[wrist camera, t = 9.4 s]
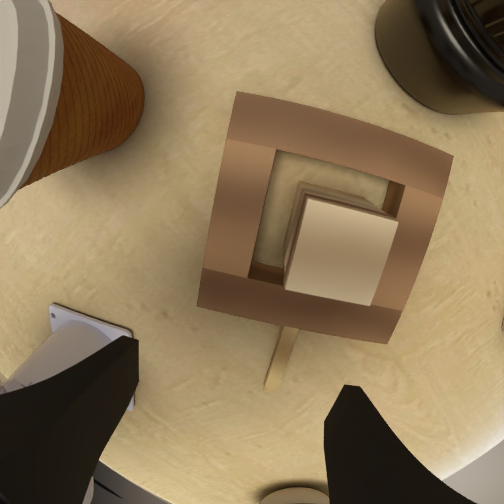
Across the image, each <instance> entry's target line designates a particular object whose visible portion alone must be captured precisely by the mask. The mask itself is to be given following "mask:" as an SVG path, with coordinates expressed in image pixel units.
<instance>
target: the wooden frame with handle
mask: <svg viewBox="0 0 504 504" xmlns="http://www.w3.org/2000/svg"><path fill="white" fill-rule="evenodd" d="M276 149H278V150H282V151H286V152H291V153H295V154H299V155H303V156H307V157H311V158H315V159H319V160H323V161H327V162H330V163H334V164H338V165H341V166H345V167H348V168H352V169H355V170H359V171H362V172H365V173H369V174H372V175H375V176H378V177H382V178H385V179H388V180H390V183H389V187H388V190H387V194H386V198H385V201H384V205H383V208H382V211H384V212H385V213H387V214H390V215H392V216H393V217H395V218H396V219H397V220H396V221H398V222H399V223H398V226H397V229H396V233H395V236H394V239H393V242H392V245H391V248H390V251H389V254H388V257H387V260H386V263H385V266H384V269H383V272H382V275H381V278H380V280H379V283H378V286H377V289H376V291H375V294H374V297H373V299H372V302H371V305H370V306H367V305H361V304H356V303H351V302H346V301H340V300H335V299H330V298H325V297H320V296H315V295H310V294H305V293H300V292H295V291H290V290H285V286H283V278H284V269H282V268H277V267H273V266H268V265H264V264H259V263H255V262H251V260H252V255H253V251H254V246H255V242H256V238H257V233H258V229H259V224H260V220H261V215H262V211H263V206H264V202H265V197H266V193H267V189H268V184H269V180H270V175H271V171H272V166H273V162H274V157H275V153H276ZM453 157H454V156H453V155H450V154H448V153H446V152H444V151H441V150H439V149H436V148H434V147H432V146H429V145H427V144H424V143H422V142H419V141H417V140H414V139H412V138H409V137H406V136H404V135H401V134H398V133H395V132H393V131H390V130H387V129H384V128H381V127H378V126H375V125H372V124H369V123H366V122H363V121H360V120H356V119H353V118H350V117H346V116H343V115H340V114H336V113H332V112H329V111H325V110H321V109H318V108H314V107H310V106H306V105H302V104H297V103H293V102H289V101H284V100H280V99H275V98H270V97H265V96H260V95H255V94H249V93H244V92H238V91H237V92H236V96H235V101H234V105H233V110H232V114H231V119H230V124H229V129H228V133H227V138H226V143H225V148H224V153H223V158H222V163H221V168H220V173H219V178H218V183H217V189H216V194H215V199H214V205H213V210H212V216H211V221H210V227H209V233H208V239H207V245H206V251H205V257H204V263H203V269H202V275H201V282H200V288H199V295H198V301H197V307H201V308H205V309H210V310H214V311H218V312H222V313H226V314H231V315H235V316H239V317H244V318H248V319H253V320H257V321H262V322H267V323H271V324H276V325H281V326H282V329H281V332H280V335H279V338H278V341H277V345H276V348H275V351H274V354H273V357H272V360H271V363H270V366H269V369H268V372H267V375H266V378H265V381H264V390H268V391H274V392H277V389H278V387H279V384H280V382H281V379H282V376H283V373H284V371H285V368H286V365H287V362H288V360H289V357H290V354H291V351H292V348H293V346H294V343H295V340H296V337H297V334H298V331H299V329H301V330H306V331H311V332H317V333H322V334H328V335H333V336H339V337H345V338H350V339H356V340H362V341H369V342H375V343H382V344H388V341H389V339H390V337H391V335H392V333H393V331H394V329H395V327H396V324H397V322H398V320H399V318H400V316H401V313H402V311H403V309H404V307H405V304H406V302H407V300H408V297H409V295H410V292H411V290H412V287H413V285H414V282H415V280H416V277H417V275H418V272H419V270H420V267H421V264H422V262H423V259H424V256H425V253H426V250H427V248H428V245H429V242H430V239H431V236H432V233H433V230H434V227H435V224H436V220H437V217H438V214H439V211H440V207H441V204H442V200H443V197H444V193H445V189H446V186H447V182H448V178H449V174H450V170H451V166H452V161H453Z"/></svg>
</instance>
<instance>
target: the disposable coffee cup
mask: <svg viewBox="0 0 504 504" xmlns="http://www.w3.org/2000/svg"><path fill="white" fill-rule="evenodd" d="M143 106H144V90H143V85H142V82H141V79H140V77H139V76H138V74H137V72H136V71H135V70H134V69H133V68H132V67H131V66H130V65H128V64H127V63H125V62H124V61H123V60H122V59H120V58H119V57H118V56H116V55H115V54H114V53H112V52H111V51H110V50H108V49H107V48H106V47H104V46H103V45H102V44H100V43H99V42H98V41H96V40H95V39H93V38H92V37H91V36H89V35H88V34H87V33H85V32H84V31H82V30H81V29H79V28H78V27H77V26H75V25H74V24H72V23H71V22H69V21H68V20H67V19H65V18H64V17H62V16H61V15H59V14H58V13H56V12H55V11H54V9H53V7H52V4H51V2H50V1H49V0H0V208H1V207H3V206H4V205H5V204H6V203H8V201H9V200H10V199H11V198H12V196H13V195H14V194H15V193H16V191H17V190H19V189H21V188H23V187H25V186H27V185H30V184H31V183H33V182H35V181H38V180H40V179H42V178H43V177H46V176H49V175H50V174H53V173H55V172H57V171H59V170H62V169H64V168H66V167H69V166H71V165H74V164H76V163H78V162H81V161H83V160H85V159H88V158H90V157H93V156H95V155H98V154H100V153H103V152H106V151H109V150H112V149H114V148H115V147H117V146H119V145H121V144H122V143H123V142H124V141H125V140H127V138H128V137H129V136H130V135H131V133H132V132H133V131H134V129H135V128H136V126H137V124H138V122H139V120H140V117H141V115H142V110H143Z"/></svg>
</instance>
